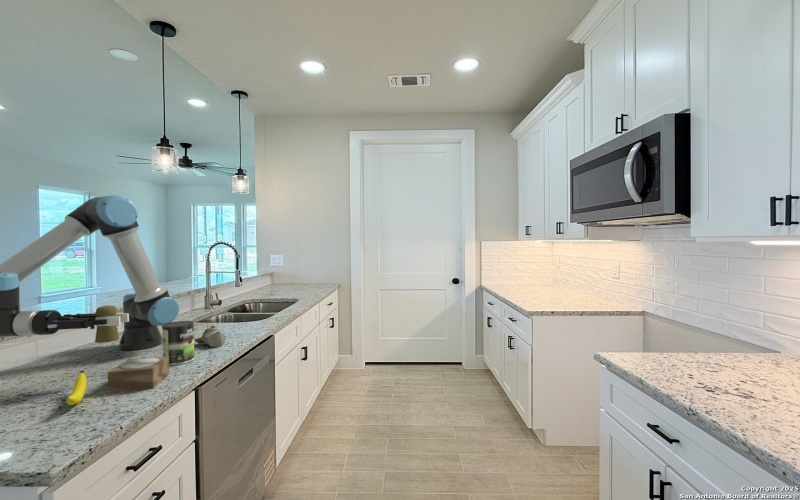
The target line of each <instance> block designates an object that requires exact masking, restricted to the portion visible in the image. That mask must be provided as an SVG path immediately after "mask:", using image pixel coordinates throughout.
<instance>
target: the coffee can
mask: <svg viewBox="0 0 800 500" xmlns="http://www.w3.org/2000/svg"><path fill="white" fill-rule="evenodd" d="M194 325H195V322H194V321H191V320H181V321H180V320H179V321H178V320H177V321H173V322H171V323H167V324H164V325H162V326H161V329H162V330H161V331H162V357H169V366H179V365H184V364H188V363H191V362H192V361H194V360H195V359H196V358H195V326H194Z"/></svg>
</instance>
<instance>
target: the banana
mask: <svg viewBox="0 0 800 500" xmlns="http://www.w3.org/2000/svg"><path fill="white" fill-rule="evenodd" d="M84 372H85V371H84V370H81V371H80V374H79V375H78V376H77V378H76V379H75V382H74V385H73V389H72V392H71V394H70V395H68V397H67V399H65V400H66V403H67V405H69V406H74V405H76V404H79V403H80V402H81V401H82V400H83V398H84V395H85V393H86V390H87V385H88V383H87V382H88V381H87V377H86V374H84Z"/></svg>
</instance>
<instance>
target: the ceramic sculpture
mask: <svg viewBox="0 0 800 500" xmlns="http://www.w3.org/2000/svg"><path fill="white" fill-rule="evenodd" d="M226 339H227V336H226V335H225V333H224V332H223V331H222V330H220V329H219V328H218V326H215V325H211V326H210V327H209V328H206V329H205V330H204V331H203V333H202V336H201V337H198V338H194V342H196V344H199V345H201V344H206V345H208V346H210V347H211V348H219V347H221V346H223V345H224V344H225V342H226Z"/></svg>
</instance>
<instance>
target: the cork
mask: <svg viewBox="0 0 800 500" xmlns="http://www.w3.org/2000/svg"><path fill="white" fill-rule="evenodd" d="M95 310H96V311H95V313H96V315H97V316H98V317H115V314H117V307H116V306H114V305H102V306H99V307H97V308H96V309H95ZM117 340H120V335H119V330H118V325H115V326H96V332H95V339H94V343H97V344H100V343H102V344H103V343H110V342H115V341H117Z"/></svg>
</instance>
